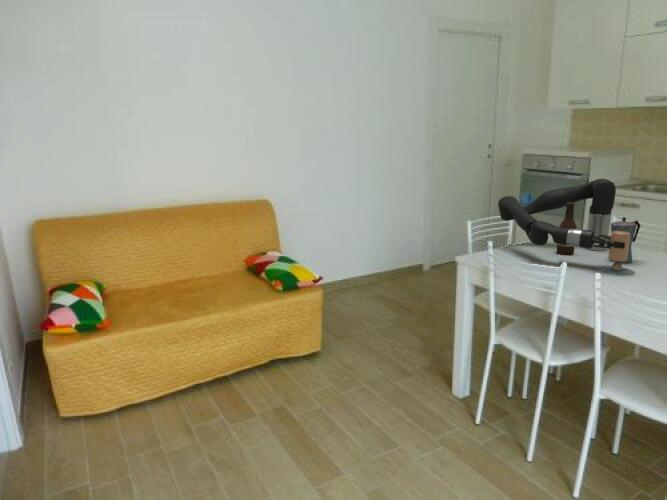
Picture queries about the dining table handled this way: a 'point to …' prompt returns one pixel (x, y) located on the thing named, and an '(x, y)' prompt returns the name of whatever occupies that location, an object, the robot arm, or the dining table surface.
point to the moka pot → (626, 227)
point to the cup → (619, 253)
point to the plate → (621, 272)
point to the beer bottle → (570, 224)
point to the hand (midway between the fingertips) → (626, 244)
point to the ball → (616, 266)
